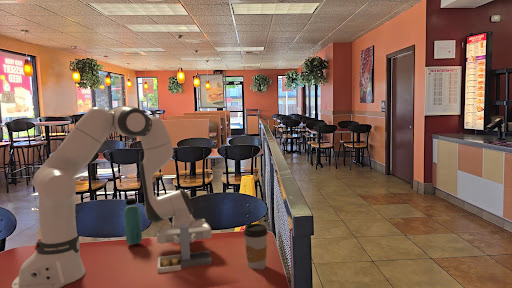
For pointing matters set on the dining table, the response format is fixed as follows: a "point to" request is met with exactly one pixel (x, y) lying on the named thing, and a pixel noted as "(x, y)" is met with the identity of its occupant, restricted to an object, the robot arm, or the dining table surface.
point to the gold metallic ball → (165, 262)
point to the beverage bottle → (132, 222)
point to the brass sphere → (175, 261)
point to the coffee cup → (256, 245)
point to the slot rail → (197, 259)
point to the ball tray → (168, 268)
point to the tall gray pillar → (185, 242)
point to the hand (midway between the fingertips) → (185, 241)
